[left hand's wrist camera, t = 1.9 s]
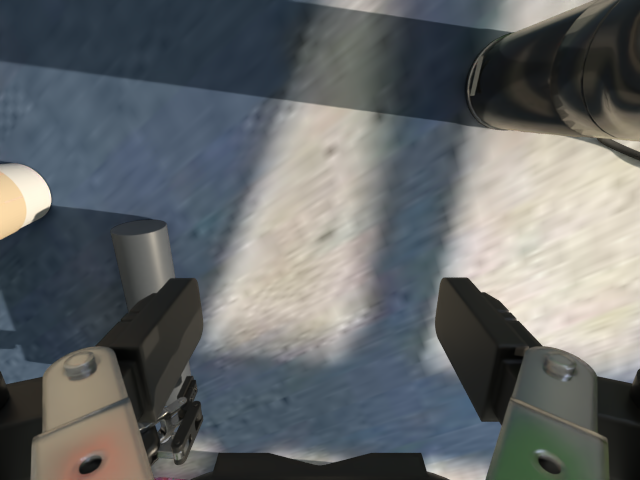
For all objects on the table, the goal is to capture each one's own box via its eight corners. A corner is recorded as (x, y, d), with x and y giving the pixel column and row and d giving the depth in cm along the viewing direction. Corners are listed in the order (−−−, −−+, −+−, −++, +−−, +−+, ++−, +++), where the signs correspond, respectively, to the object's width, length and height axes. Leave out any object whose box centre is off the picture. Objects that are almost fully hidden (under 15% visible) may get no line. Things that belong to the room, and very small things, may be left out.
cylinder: (127, 219, 42) (98, 235, 36) (174, 219, 42) (153, 235, 36) (158, 374, 50) (139, 406, 45) (198, 374, 50) (183, 406, 45)
